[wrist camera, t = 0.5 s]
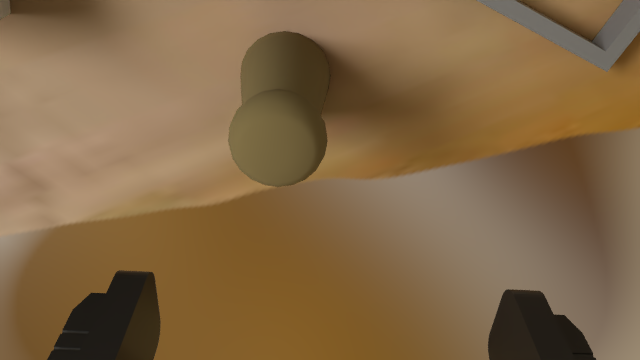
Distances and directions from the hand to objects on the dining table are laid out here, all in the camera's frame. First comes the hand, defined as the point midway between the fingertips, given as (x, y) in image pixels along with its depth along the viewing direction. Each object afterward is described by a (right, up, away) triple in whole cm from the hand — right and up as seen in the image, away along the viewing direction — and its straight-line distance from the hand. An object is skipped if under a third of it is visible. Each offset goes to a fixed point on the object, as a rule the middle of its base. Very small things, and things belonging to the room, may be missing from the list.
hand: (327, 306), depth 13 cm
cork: (-2, +10, +24) cm, 27 cm away
